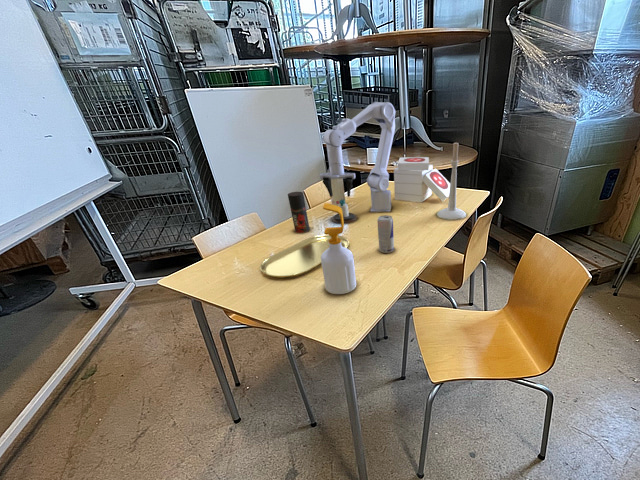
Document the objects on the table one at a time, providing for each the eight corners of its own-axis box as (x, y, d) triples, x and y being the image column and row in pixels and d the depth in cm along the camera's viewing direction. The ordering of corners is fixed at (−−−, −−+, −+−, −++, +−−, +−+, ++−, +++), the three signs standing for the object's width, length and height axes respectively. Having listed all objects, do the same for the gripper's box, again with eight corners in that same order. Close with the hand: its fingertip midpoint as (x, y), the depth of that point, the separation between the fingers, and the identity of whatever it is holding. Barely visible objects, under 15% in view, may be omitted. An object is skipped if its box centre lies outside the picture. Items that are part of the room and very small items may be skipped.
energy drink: (396, 248, 121) (395, 215, 115) (391, 254, 117) (389, 221, 111) (382, 246, 123) (380, 214, 116) (376, 252, 119) (374, 219, 112)
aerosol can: (332, 203, 168) (326, 161, 157) (346, 203, 168) (341, 160, 158) (331, 207, 162) (325, 164, 152) (345, 207, 163) (340, 163, 152)
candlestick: (463, 210, 155) (469, 139, 138) (467, 219, 144) (474, 144, 128) (436, 210, 155) (438, 139, 139) (438, 220, 145) (441, 144, 128)
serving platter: (360, 244, 125) (359, 240, 124) (289, 285, 100) (288, 281, 99) (322, 235, 133) (322, 231, 133) (248, 271, 109) (247, 267, 108)
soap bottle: (327, 280, 103) (314, 200, 89) (356, 278, 103) (348, 198, 90) (324, 295, 95) (309, 211, 82) (356, 293, 96) (346, 209, 82)
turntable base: (358, 215, 152) (358, 212, 152) (354, 223, 143) (354, 221, 143) (335, 215, 153) (334, 212, 153) (329, 223, 144) (329, 221, 143)
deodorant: (311, 227, 141) (305, 191, 132) (307, 233, 136) (300, 195, 127) (298, 227, 141) (290, 191, 133) (292, 232, 136) (285, 195, 128)
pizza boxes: (445, 206, 160) (447, 166, 151) (389, 199, 171) (387, 162, 161) (456, 195, 175) (459, 158, 165) (404, 190, 186) (404, 155, 176)
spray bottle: (336, 213, 152) (334, 196, 148) (356, 213, 151) (354, 196, 147) (331, 220, 144) (329, 203, 140) (352, 220, 144) (350, 203, 139)
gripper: (315, 164, 133) (321, 198, 141) (351, 164, 132) (355, 198, 140) (320, 161, 139) (325, 194, 147) (354, 160, 138) (357, 193, 146)
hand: (340, 196), depth 144 cm, fingers open, 7 cm apart
